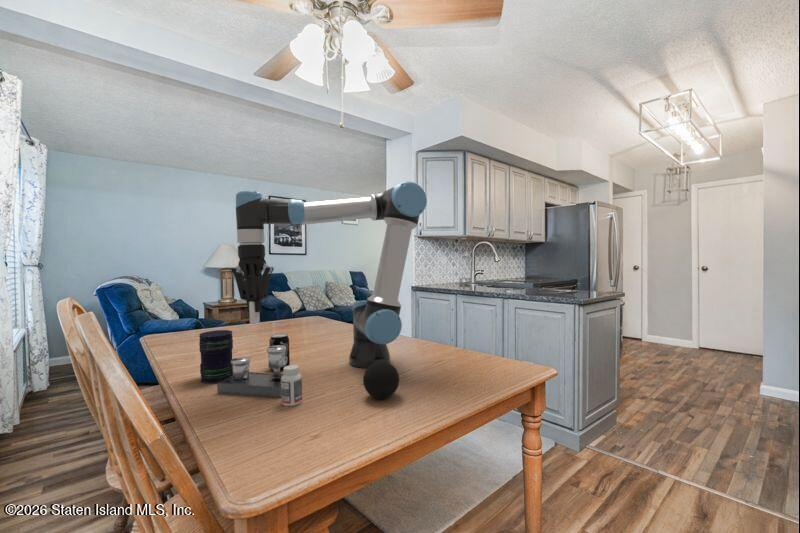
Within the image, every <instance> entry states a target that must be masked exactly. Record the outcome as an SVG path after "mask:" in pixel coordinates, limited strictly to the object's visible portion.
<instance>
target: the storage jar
mask: <svg viewBox="0 0 800 533" xmlns="http://www.w3.org/2000/svg"><path fill="white" fill-rule="evenodd" d="M198 344H199V353H200V364H199V371H200V377H201V378H200V382H201V383H203V384H217V383H218V382H220V381H222V380H224V379H226V378H228V377H230V376H232V375H233V365H232V364H231V360H232V359H233V348H234V339H233V331H232V330H229V329H228V330H226V329H220V330H219V329H217V330H211V331H205V332H201V333H199V343H198Z"/></svg>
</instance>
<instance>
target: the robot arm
mask: <svg viewBox="0 0 800 533" xmlns="http://www.w3.org/2000/svg"><path fill="white" fill-rule="evenodd" d="M427 198H428V197H427V194H426V192H425V190H424V189H423V188H422V186H420V185H419V184H418V183H416V182H413V181H402V182H399V183H397V184H396V185H395V186H393V187H391V188H389V189H387V190H384V191H382V192H378V193H370V194H369V195H368V196H366V197H354V198H343V199H332V200H321V201H320V200H318V201H308V202H304V201H303V200H302V199H294V198H289V199H287V198H286V199H285V198H282V199H281V198H279V199H277V198H271V199H269V198H264V196H263V193H262V192H261V191H255V190H242V191H239V192H237V193H236V194H235V218H236V219H235V220H236V240H237V241H236V243H237V244H238V245H237V257H238V258H239V261H238V265H236V266H235V267H232V268H231V272H232V274H233V276H234V278H235V282H236V286H237V289H238V294H239V298H240V299H241V300H242V301H243V300H244V301H246V308H247V309H246V310H247V313H249V324H250V325H255V324H259V323H260V322H261V318H260V313H261V312H262V302H263V300H266V299H267V298H268V294H269V289H270V288H269V287H270V282H271V277H272V274H273V272H274V269H275V268H274V267H273V266H269V265H268V264H267V262H266V259H265V258H266V257H265V256H266V246H265V244H264V243H265V226H264V225H275V226H276V227H278V228H281V229H286V228H289V227H296V226H298V227H299V226H306V225H311V224H312V225H314V224H326V223H334V222H344V221H352V220H355V221H356V220H363V219H364V220H365V219H370V220H372V221H384V222H385V224H386V227H385V228H386V229H385V233H384V234H385V235H384V238H383V243H382V248H381V253H380V257H379V263H378V268H377V273H376V277H375V282H374V286H373V287H374V288H373V291H372V294H371V295H370V296H369V297H367V298H366V299H367V300H355V301H354V302H353V304H352V318H353V319H352V324H353V328H352V329H353V343H352V345H351V350H350V353H349V356H348V363H349V365H350V366H352V367H356V368H363V369H367V368H368V367H369V366H370V365H371V364H373V363H375V362H378V361H385V362H388V363H390V364H391V354H390V351H389V348H388V344H391V343H392V342H394V341H395V340H397V338H399V336H400V334H401V331H402V328H403V326H402V325H403V324H402V323H403V322H402V320H401V316H400V314H401V309H402V304H401V303H400V301H399V296H400V292H401V291H400V290H401V286H402V281H403V275H404V271H405V266H406V265H405V264H406V261H407V256H408V251H409V246H410V241H411V237H412V232H413V230H414V229H415V228H417V227H418V224H419V221H420V220H419V219H420V215H422V213H423V212H424V210H426V207H427V202H428V201H427V200H428V199H427Z"/></svg>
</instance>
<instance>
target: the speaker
mask: <svg viewBox="0 0 800 533" xmlns="http://www.w3.org/2000/svg"><path fill="white" fill-rule="evenodd" d="M362 382H363V387H364V389H365V391H366V392H367V394H368V395H370V397H372V398H375V399H381V400H382V399H387V398H389V397H391V396H393V394H394V393H395V392H396V391H397V389H398V387H399V385H400V384H399V383H400V376H399V373H398V370H397V368H396V367H395V366H394V364H392V363H391V362H390V363H388V362H385V361H378V362H375V363H373V364H371V365H370V366H369V367H368V368H365V371H364V374H363V378H362Z"/></svg>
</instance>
